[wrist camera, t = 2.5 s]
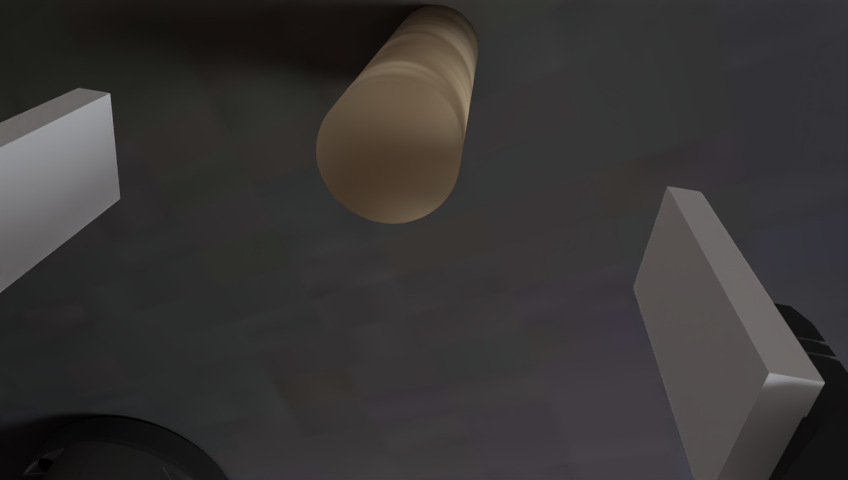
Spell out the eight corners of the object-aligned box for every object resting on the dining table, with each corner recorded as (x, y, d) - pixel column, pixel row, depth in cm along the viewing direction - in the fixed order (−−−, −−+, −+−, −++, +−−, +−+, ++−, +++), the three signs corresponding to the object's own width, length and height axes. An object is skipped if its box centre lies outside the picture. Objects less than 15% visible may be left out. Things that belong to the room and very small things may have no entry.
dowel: (390, 83, 32) (312, 211, 19) (399, -2, 30) (320, 74, 17) (470, 96, 32) (448, 234, 19) (485, 12, 30) (471, 98, 17)
